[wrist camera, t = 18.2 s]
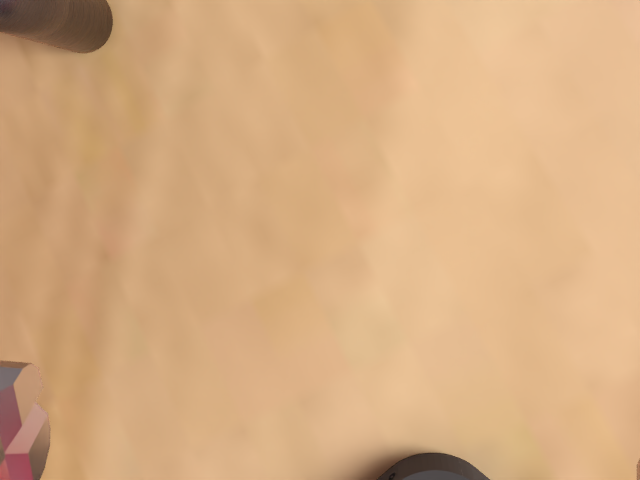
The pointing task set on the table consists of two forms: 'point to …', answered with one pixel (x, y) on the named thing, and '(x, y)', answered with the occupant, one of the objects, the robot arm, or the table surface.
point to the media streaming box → (433, 469)
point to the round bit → (58, 22)
